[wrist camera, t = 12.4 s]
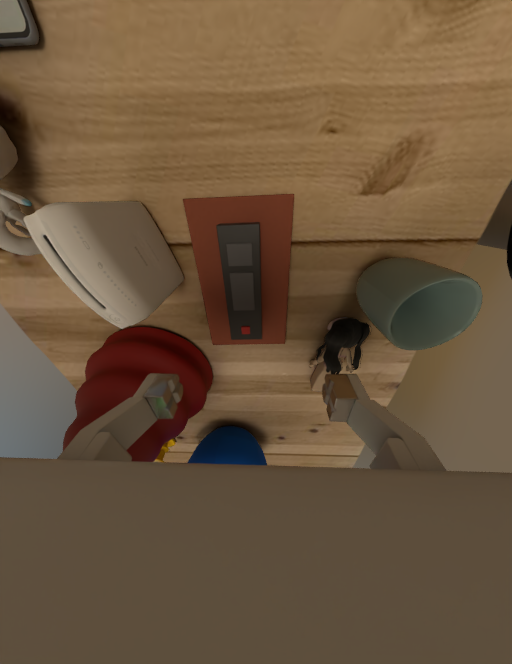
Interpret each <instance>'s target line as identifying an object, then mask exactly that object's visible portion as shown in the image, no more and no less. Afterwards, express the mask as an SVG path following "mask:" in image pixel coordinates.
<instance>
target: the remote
mask: <svg viewBox="0 0 512 664" xmlns="http://www.w3.org/2000/svg"><path fill="white" fill-rule="evenodd" d="M216 228H217V235H218V243H219V251H220V258H221V266H222V273H223V281H224V288H225V296H226V304H227V311H228V319H229V326H230V334H231V340H251V339H262V306H261V257H260V222H246V223H220V224H218V225H216Z"/></svg>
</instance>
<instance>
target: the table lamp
mask: <svg viewBox="0 0 512 664" xmlns="http://www.w3.org/2000/svg"><path fill="white" fill-rule="evenodd" d="M150 373H167V374H178V375H179V378H180V379H179V382H180V383H182V385H183V396H182V398H181V401H179V402H178V403H177V407H178V408H177V410H176V412H175V415H174V417H173V419H157V421H156V422H155V423H154V424H153V425H152V426H151V427H150V428H148V429H147V430H146V431H145V432H144V433H143V434H142V435H141V436H140V437H139V438H138V439H137V440H136V441H135V442H134V443H133V444H132V445H131V446H130V447H129V448H128V449H127V450H126V451H127V452H128V453H129V454H130V455H131V457H132V460H131V461H136V462H154V461H155V459H156V458H157V457H158V455H159V453H160V451H161V448H162V446H163V444H165V443H166V442H168V441H170V440H171V439H173V438H175V437H176V436H178V435H179V434H180V433H181V432H182V431H183V430H184V428H185V426H186V424H187V421H188V419H189V418H191V417H193V416H194V415H196V414H197V413H198V412H199V411H200V410H201V409H202V408H203V406H204V404H205V401H206V397H207V392H208V391H209V389H210V387H211V385H212V380H213V375H212V369H211V367H210V365H209V363H208V361H207V360H206V358H205V357H204V355H203V354H202V353H201V352H200V351H199V350H198V349H197V348H196V347H195V346H194V345H193V344H191V343H190V342H188V341H187V340H185V339H183V338H181V337H179V336H177V335H175V334H172V333H170V332H167V331H164V330H161V329H156V328H150V327H133V328H127V329H123V330H121V331H118V332H115V333H114V334H113V335H111V336H110V337H108V339H107V340H106V342H105V343H104V345H103V347H101V348H100V349H99V350H97V351H96V352H95V353H93V354H92V355H91V357H90V358H89V360H88V361H87V365H86V370H85V374H86V381H85V382H84V383H83V384H82V386H81V387H80V388H79V390H78V391H77V394H76V399H75V404H76V410H77V418H76V419H75V420H74V422H73V423H72V424H71V425H70V426H69V428H68V429H67V431H66V433H65V437H64V442H63V451H64V450H65V448H66V447H67V446H68V445H69V443H70V442H71V441H72V440H73V439H74V437H75V436H76V435H77V434H78V432H79V431H80V430H81V429H83V428H84V427H86V426H87V425H89V424H90V423H92V422H93V421H95V420H96V419H98V418H99V417H101V416H102V415H104V414H105V413H107V412H108V411H110V410H111V409H113V408H114V407H116V406H117V405H119V404H120V403H122V402H124V401H125V400H127V399H128V398H130V397H133V396H134V394H135V393H136V391H137V390H138V388H139V387H140V386H141V384H142V383H143V381H144V380H145V378H146V377H147V375H149V374H150Z"/></svg>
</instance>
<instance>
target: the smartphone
mask: <svg viewBox="0 0 512 664" xmlns="http://www.w3.org/2000/svg"><path fill="white" fill-rule="evenodd" d="M38 41H39V33H38V29H37V26H36V24H35V21H34V19H33V16H32V13H31V11H30V8H29V5H28V3H27V0H0V47H4V46H22V45H35V44H37V43H38Z"/></svg>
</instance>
